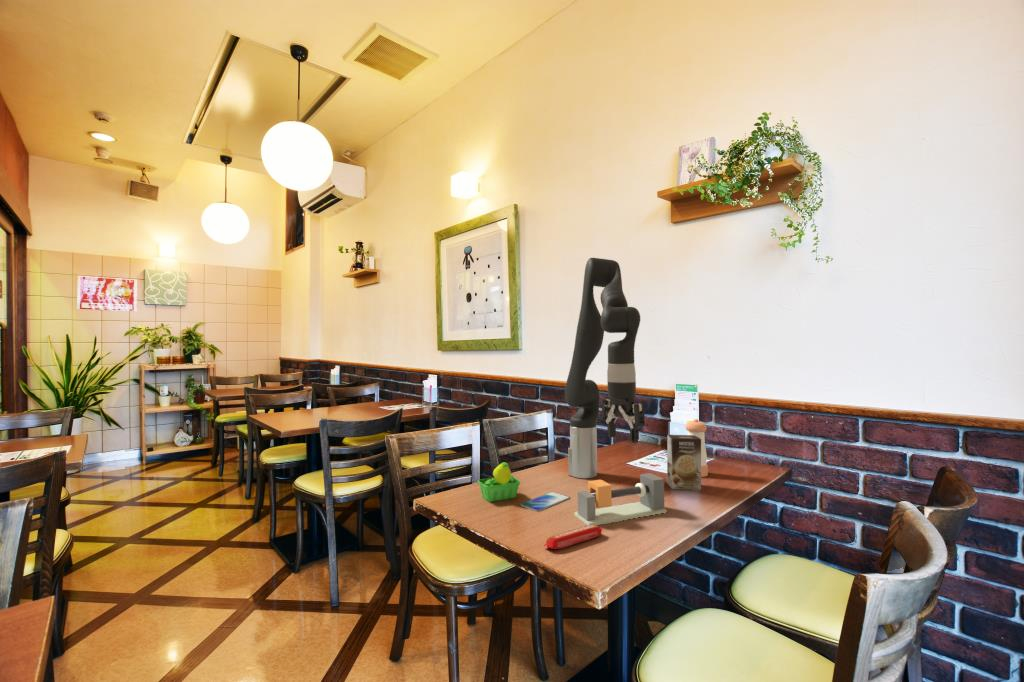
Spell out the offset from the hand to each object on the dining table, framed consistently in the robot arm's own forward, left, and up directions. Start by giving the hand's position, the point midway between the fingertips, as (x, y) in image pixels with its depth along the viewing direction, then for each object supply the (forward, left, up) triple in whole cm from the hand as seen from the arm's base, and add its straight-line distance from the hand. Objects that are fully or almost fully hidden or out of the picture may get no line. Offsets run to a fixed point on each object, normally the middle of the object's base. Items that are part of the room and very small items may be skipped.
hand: (622, 439), depth 124 cm
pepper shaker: (+16, +46, -20) cm, 53 cm away
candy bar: (-7, -22, -21) cm, 31 cm away
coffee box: (+13, +30, -20) cm, 39 cm away
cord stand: (-1, -1, -20) cm, 20 cm away
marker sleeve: (-5, -5, -17) cm, 18 cm away
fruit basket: (-37, -2, -20) cm, 42 cm away
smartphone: (-23, 0, -21) cm, 31 cm away
